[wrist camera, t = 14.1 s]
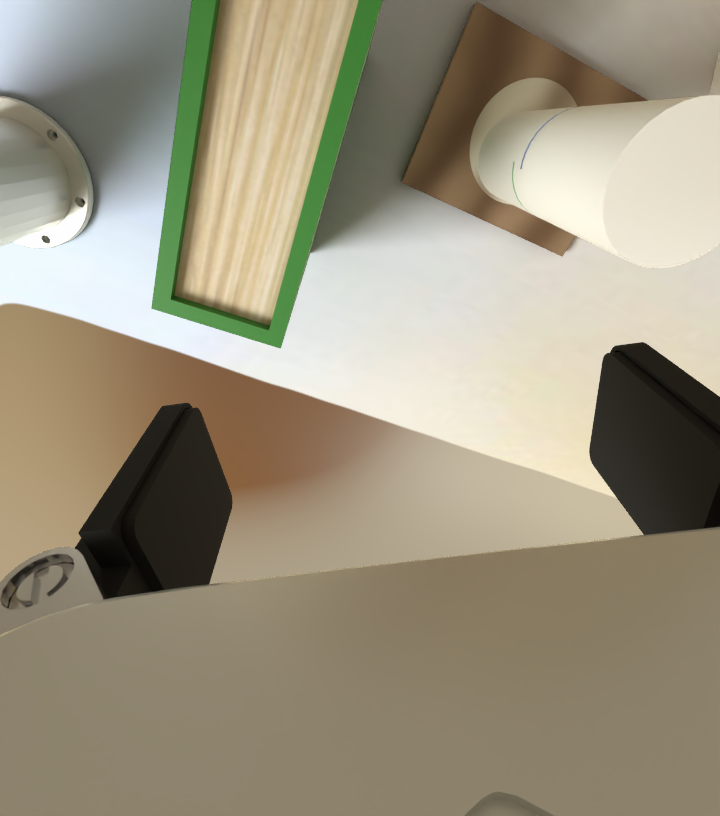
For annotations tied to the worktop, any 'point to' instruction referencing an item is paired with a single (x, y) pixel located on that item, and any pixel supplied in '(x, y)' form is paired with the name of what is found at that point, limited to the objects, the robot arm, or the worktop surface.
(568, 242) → the walnut board
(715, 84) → the milk
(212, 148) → the hardback book
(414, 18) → the worktop surface
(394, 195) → the worktop surface
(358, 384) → the worktop surface
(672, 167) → the cylindrical container
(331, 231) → the worktop surface
